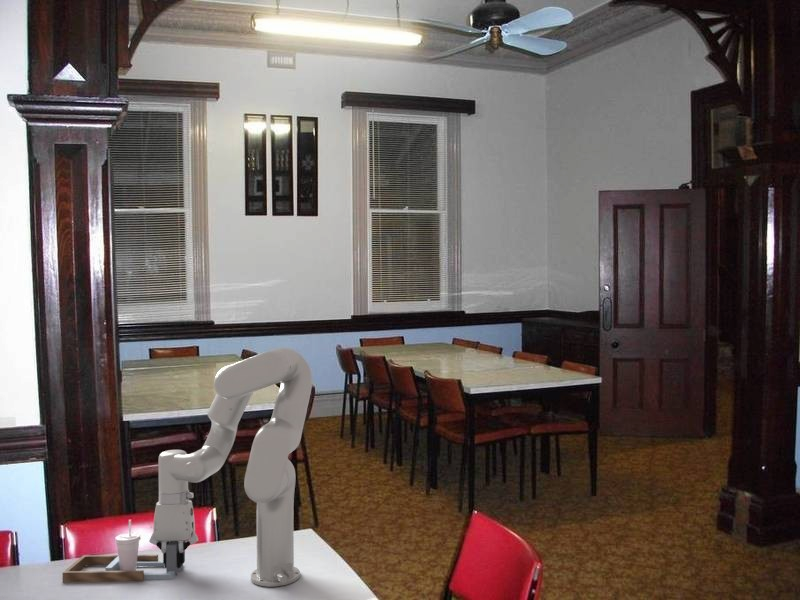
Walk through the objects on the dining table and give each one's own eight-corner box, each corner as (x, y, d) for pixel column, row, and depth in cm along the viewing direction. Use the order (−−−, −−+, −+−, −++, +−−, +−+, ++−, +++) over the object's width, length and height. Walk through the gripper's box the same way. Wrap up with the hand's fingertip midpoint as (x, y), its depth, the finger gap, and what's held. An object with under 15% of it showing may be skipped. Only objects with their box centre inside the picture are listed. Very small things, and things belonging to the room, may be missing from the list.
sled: (184, 565, 197) (183, 536, 197) (173, 579, 188) (173, 548, 188) (119, 566, 197) (118, 536, 197) (105, 579, 188) (104, 549, 188)
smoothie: (135, 577, 190) (135, 523, 189) (111, 577, 190) (111, 524, 189) (144, 567, 196) (143, 516, 196) (120, 567, 196) (120, 516, 196)
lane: (158, 563, 199) (158, 554, 199) (142, 581, 187) (142, 571, 186) (83, 564, 199) (83, 555, 199) (62, 582, 186) (62, 572, 186)
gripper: (207, 493, 196) (208, 560, 197) (148, 493, 196) (148, 561, 196) (200, 501, 189) (200, 571, 189) (138, 501, 189) (138, 571, 189)
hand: (174, 565), depth 193 cm, fingers closed on sled, 2 cm apart
